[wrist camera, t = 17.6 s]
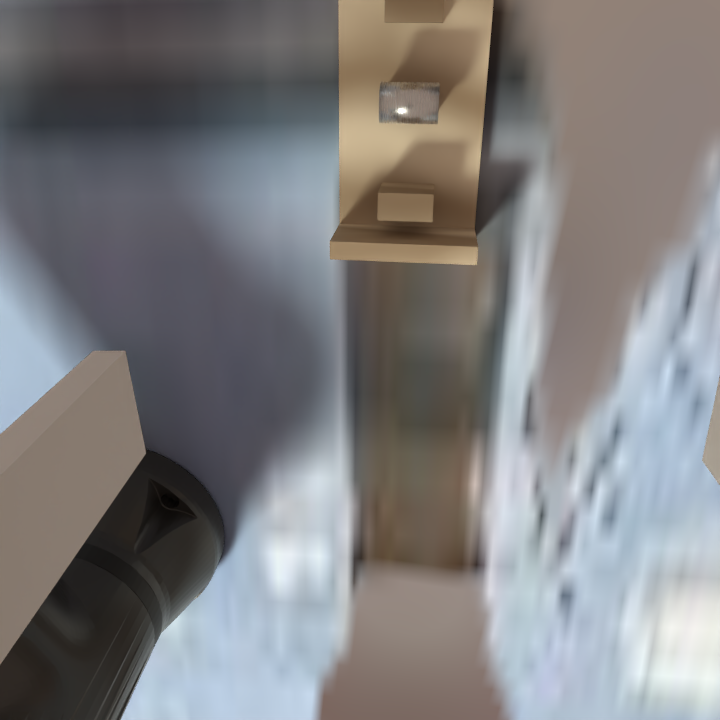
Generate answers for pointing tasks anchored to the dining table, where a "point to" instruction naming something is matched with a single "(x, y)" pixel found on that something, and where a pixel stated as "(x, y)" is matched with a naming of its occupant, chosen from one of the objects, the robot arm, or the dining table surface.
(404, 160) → the birch cradle
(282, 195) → the dining table surface
